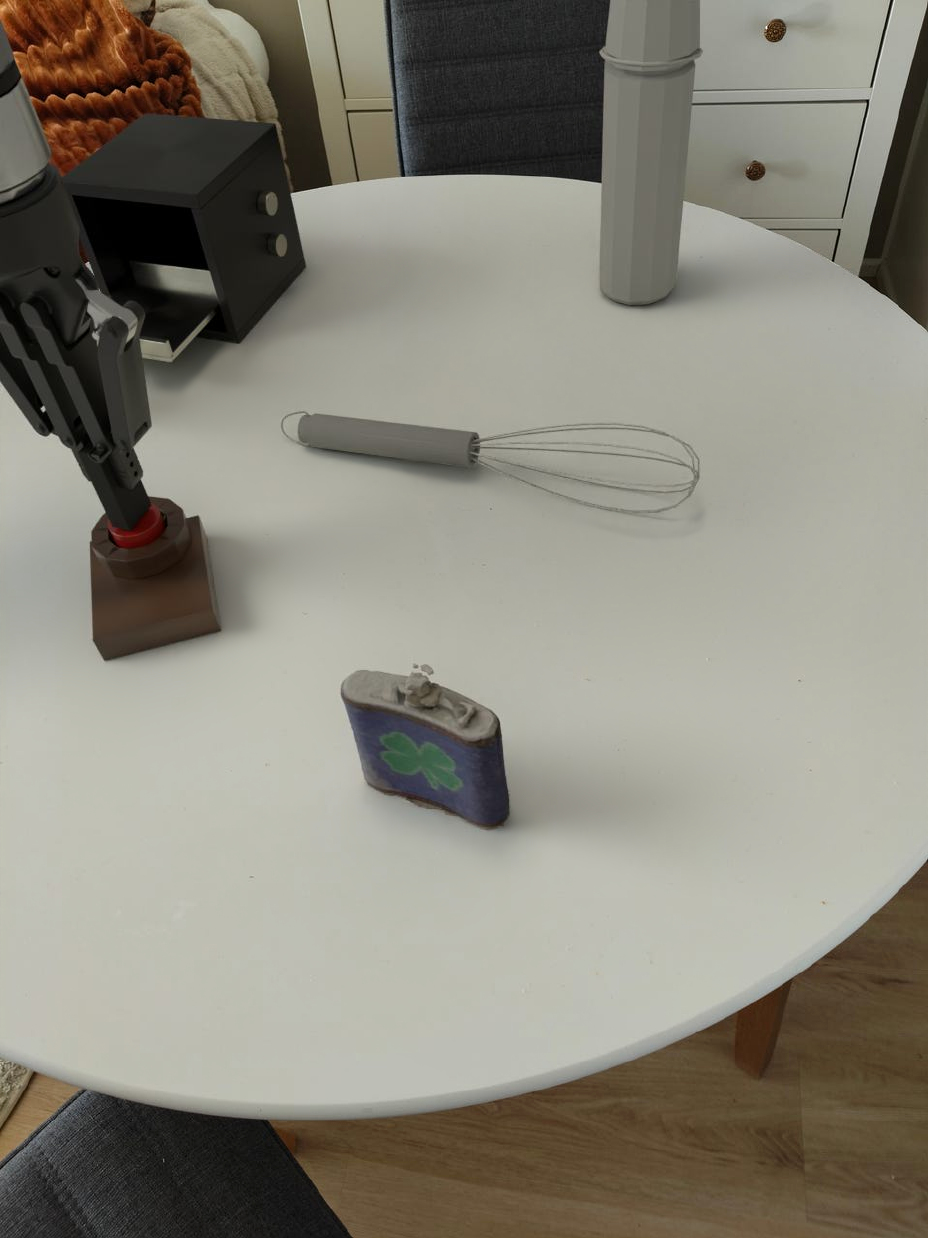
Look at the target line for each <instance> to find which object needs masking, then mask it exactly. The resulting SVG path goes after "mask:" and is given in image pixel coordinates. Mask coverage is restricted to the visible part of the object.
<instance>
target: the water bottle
mask: <svg viewBox="0 0 928 1238" xmlns="http://www.w3.org/2000/svg"><path fill="white" fill-rule="evenodd" d="M608 10H609V11H608V21H607V26H606V27H607V28H606V29H607V30H606V37H605V45H604V46H603V47H602V48H601V49H600V50H599V53H598V54H599V55H600V56H601V58H602V59H604V73H603V109H602V110H603V111H602V113H603V114H602V152H601V153H602V154H601V187H600V188H601V189H600V190H601V191H600V229H599V230H600V233H599V264H598V265H599V267H598V268H599V269H598V277H599V278H598V280H599V289H600V291H601V292H602V293H603V294H604V295H605V296H607V298H609V300H611V301H612V302H615V303H616V302H617V303H621V304H624V305H627V306H637V305H638V306H639V305H641V306H642V305H643V306H644V305H650V304H652V303H655V302H658V301H661V300H663V299H664V298H666V297H667V296H668V295H669V294H670V293H671V291H672V290H674V288H675V287H676V286H677V278H678V267H679V266H678V265H679V254H680V242H681V233H682V232H681V231H682V220H683V209H684V197H685V187H686V177H687V176H686V175H687V165H688V154H689V153H688V152H689V144H690V143H689V141H690V131H691V122H692V121H691V120H692V111H693V110H692V108H693V97H694V88H695V87H694V86H695V75H696V62H695V60H696V59H699V58H701V56H702V54H703V52H704V50H703V49H702V48H701V0H610V2H609V9H608Z"/></svg>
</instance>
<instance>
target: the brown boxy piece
mask: <svg viewBox="0 0 928 1238" xmlns="http://www.w3.org/2000/svg"><path fill="white" fill-rule="evenodd" d="M148 497H149V500H150V502H151V503H152V504H154V505H155V506H156V507H157V508H158V509H159V511H160V514H161V516H162V518H163V521H164V523H165V526H166V529H165V531H164V532H163V534H162V536H161V537H160V538H158V539H157V540H155V541H153V542H152V543H150V544H149V545H146V546H142V547H138V548H134V549H127V548H119V547H117V545H116V543H115V541H114V539H113V536H112V534H111V532H110V530H109V528H108V522H109V518H108V516H107V514H106V512H105V513H103V514H102V515H101V517H100V518H99V519H98V521H97V522H96V523H95V525H94V527H93V528H92V529H91V531H90V535H91V538H90V539H91V540H90V541H89V565H90V566H89V567H90V595H91V599H90V600H91V624H92V627H91V629H92V642H93V644H94V645H95V647H96V649H97V651H98V652H99V655H100V656H101V658H102V659H103V661H104V662H106V661H109V660H110V661H111V660H113V659H117V658H121V657H125V656H130V655H133V654H137V653H141V652H146V651H149V650H153V649H157V648H161V647H164V646H167V645H172V644H176V643H180V642H185V641H189V640H192V639H195V638H200V637H204V636H208V635H211V634H215V633H219V632H221V631H222V629H221V627H222V626H221V621H220V616H219V608H218V602H217V594H216V587H215V582H214V575H213V568H212V563H211V556H210V555H211V554H210V548H209V542H208V536H207V533H206V531H205V528H204V525H203V522H202V520H201V517H200V515H198V514H197V515H193V516H189V517H187V515H186V514H185V511H184V509H183V508H182V507H181V506H179V505H178V504H177V503H176V502H175V501H173V500H171V499H170V498H167V497H159V496H151V495H148Z"/></svg>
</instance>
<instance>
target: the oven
mask: <svg viewBox="0 0 928 1238" xmlns="http://www.w3.org/2000/svg"><path fill="white" fill-rule="evenodd" d="M61 178H62V180H63V183H64V186H65V188H66V191H67V193H68V196H69V199H70V201H71V204H72V206H73V209H74V212H75V214H76V217H77V219H78V222H79V227H80V233H79V241H80V243H81V246H82V249H83V251H84V253H85V256H86V258H87V261H88V263H89V266H90V268H91V272H92V273H93V275H94V276H95V278H96V280H97V282H98V285H99V291H100V292H101V293H103V294H104V295H106V296H107V297H108V296H109V295H110V294H112V293H113V292H114V291H115V290H116V289H117V288H118V287H119V286H120V285H121V284H122V283H123V282H124V281H125V280H126V279H128V278H129V277H130V276H131V275H132V274H133V273H132V270H131V267H130V264H129V260H130V259H131V258H136V259H144V260H151V261H159V262H167V263H175V264H183V265H190V266H198V267H206V268H209V271H210V274H211V278H212V281H213V285H214V288H215V291H216V295H217V298H218V302H219V305H220V308H221V309H220V310H219V312H218V313H217V314H216V315H215V316H214V317H213V318H212V319H211V320H210V321H209V322H208V323H207V325H206V326H205V327H204V328H203V329H202V330H201V331H200V332H199V333H198V334H197V335H196V336H195V337H194V338H200V339H201V338H202V339H209V340H215V341H221V342H228V343H235V344H240V343H241V342H242V341H243V340H244V339H245V338H246V336H247V335H248V334H249V333H250V332H251V331H252V329H253V328H255V326H256V325H257V324H258V323H259V322H260V320H261V319H262V318H263V317H264V316H265V315H266V314H267V312H268V311H269V310H270V309H271V308H272V306H273V305H274V304H275V303H276V302H277V301H278V300H279V299H280V297H281V296H282V295H283V294H284V293H285V292H286V291H287V290H288V289H289V287H290V286H291V285H292V284H293V282H295V280H296V279H297V278H298V277H299V276H300V274H301V273H302V272H304V270H305V269H306V268H307V263H306V259H305V254H304V250H303V249H304V248H303V243H302V239H301V235H300V230H299V226H298V221H297V217H296V213H295V212H296V211H295V209H294V208H295V207H294V202H293V198H292V194H291V188H290V184H289V178H288V175H287V170H286V165H285V161H284V156H283V151H282V146H281V142H280V138H279V133H278V128H277V124H276V123H275V122H265V121H264V122H263V121H262V122H261V121H249V120H237V119H223V118H210V117H199V116H186V115H185V116H184V115H172V114H161V113H160V114H159V113H147V112H145V113H144V114H142V115H141V116H140V117H139V118H137V119H136V120H134V121H133V122H132V123H130V124H129V125H128V126H127V127H125V128H124V129H123V130H122V131H121V132H119V133H118V134H116V135H115V136H114V137H112V138H111V139H110V140H109V141H107V142H106V143H105V144H103V145H102V146H101V147H99V148H98V149H96V150H95V151H94V152H92V154H90V155H88V156H87V158H85V159H84V160H82V161H81V162H80V163H78V164H77V165H76V166H75V167H73V168H72V169H71V170H70V171H68V172H67V173H65V174H64V175H62V176H61Z"/></svg>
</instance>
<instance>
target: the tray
mask: <svg viewBox="0 0 928 1238" xmlns="http://www.w3.org/2000/svg"><path fill="white" fill-rule="evenodd" d="M129 264H130V267H131V270H132V273H133V274H132V275H131V276H130V277H129V278H128V279H126V280H125V281H124V282H123V283H122V284H121V285H120V286H119V287H118V288H117V289H116V290H115V291H114V292H113V293H112V294H110V295H109V296H108V298H110V299H111V300H113V301H114V302H116V303H117V304H119V305H120V306H122V307H123V306H124V305H125V304H126V303H127V302H128V301H135V302H137V303H138V304H139V305H141V306H142V308H143V309H144V312H145V318H144V321H143V325H142V328H141V331H140V335H139V338H140V345H141V352H142V359H148V360H153V361H154V360H155V361H159V362H160V361H161V362H166V363H173V361H175V359H176V358H177V357H178V356H179V355H180V354H181V353H182V352H183V351H184V350H185V348H186V347H188V345H189V344H190V343H191V342H192V341H193V340H194V339H195V338H196V337H195V336H196V335H197V334H198V333H199V332H200V331H201V330H202V329H203V328H204V327H205V326H206V325H207V323H208V322H209V321H210V320H211V319H212V318H213V317H214V316H215V315H216V314H217V313H218V312H219V310H220V309H221V308H220V305H219V302H218V298H217V295H216V291H215V288H214V285H213V281H212V278H211V274H210V271H209V268H206V267H198V266H190V265H183V264H175V263H167V262H159V261H151V260H144V259H136V258H131V259H130V260H129ZM98 342H99V341H97V346H98Z"/></svg>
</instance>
